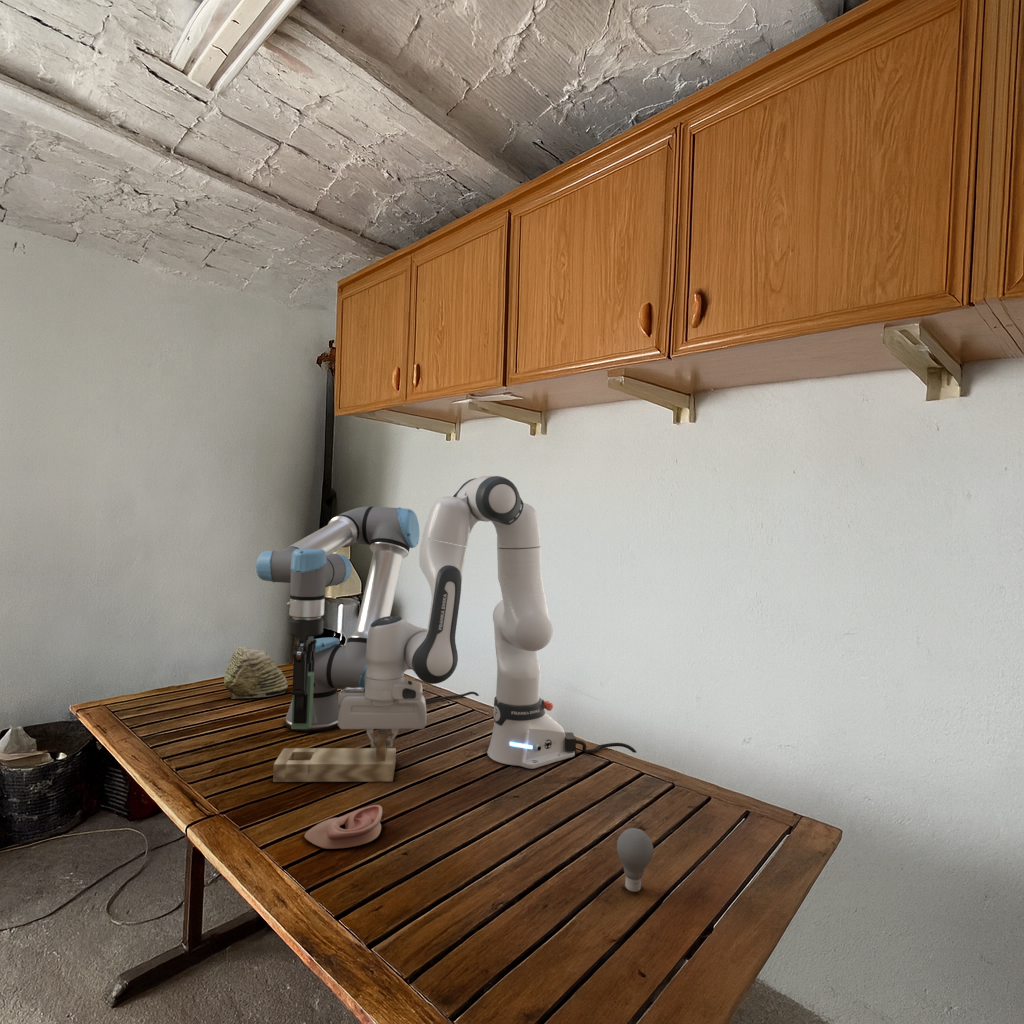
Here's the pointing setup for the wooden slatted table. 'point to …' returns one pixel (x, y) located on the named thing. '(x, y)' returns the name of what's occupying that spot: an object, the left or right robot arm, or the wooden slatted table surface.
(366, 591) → the left robot arm
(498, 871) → the wooden slatted table surface
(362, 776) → the peg board
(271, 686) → the fossil
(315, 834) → the anatomical model
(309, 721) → the peg
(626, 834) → the light bulb
